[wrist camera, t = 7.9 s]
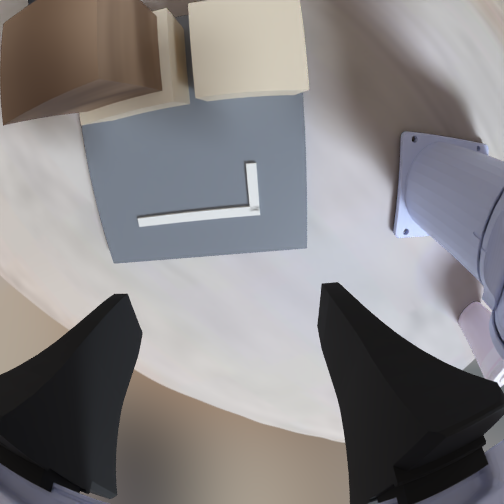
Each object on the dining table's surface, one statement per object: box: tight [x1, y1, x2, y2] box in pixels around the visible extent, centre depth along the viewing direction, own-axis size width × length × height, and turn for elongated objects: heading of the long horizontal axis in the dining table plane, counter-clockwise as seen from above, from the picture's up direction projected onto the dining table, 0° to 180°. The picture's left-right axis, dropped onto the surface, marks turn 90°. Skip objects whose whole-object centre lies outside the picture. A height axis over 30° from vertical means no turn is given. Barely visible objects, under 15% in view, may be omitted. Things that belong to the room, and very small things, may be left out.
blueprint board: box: [79, 0, 309, 263], centre depth 14 cm, size 14×16×5 cm
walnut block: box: [0, 0, 163, 125], centre depth 7 cm, size 4×4×6 cm
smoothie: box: [458, 301, 504, 387], centre depth 18 cm, size 6×6×14 cm
